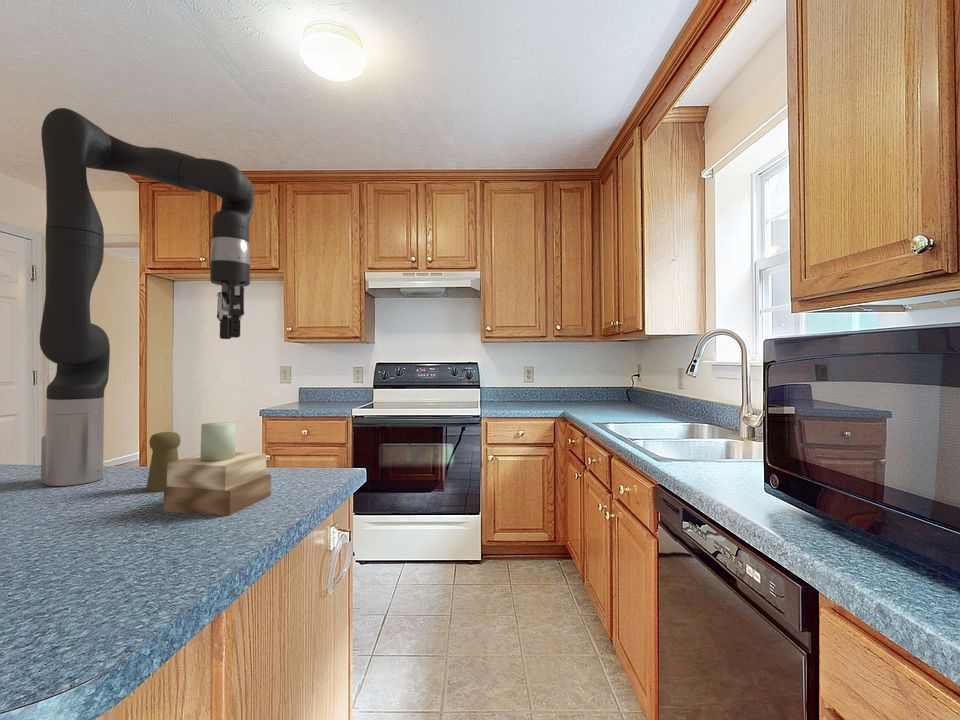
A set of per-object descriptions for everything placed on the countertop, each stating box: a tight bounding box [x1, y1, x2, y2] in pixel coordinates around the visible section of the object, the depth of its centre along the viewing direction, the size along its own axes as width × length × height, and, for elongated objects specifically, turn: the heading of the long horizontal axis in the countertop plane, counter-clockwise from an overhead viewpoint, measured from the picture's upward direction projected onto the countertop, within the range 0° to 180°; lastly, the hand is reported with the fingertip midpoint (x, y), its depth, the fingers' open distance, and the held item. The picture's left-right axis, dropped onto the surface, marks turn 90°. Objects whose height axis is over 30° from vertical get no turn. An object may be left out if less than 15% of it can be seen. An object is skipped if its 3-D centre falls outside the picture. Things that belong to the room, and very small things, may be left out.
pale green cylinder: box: [200, 421, 237, 461], centre depth 86 cm, size 5×5×6 cm
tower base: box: [162, 473, 272, 516], centre depth 86 cm, size 12×12×4 cm
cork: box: [145, 431, 181, 493], centre depth 96 cm, size 6×6×11 cm
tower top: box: [167, 451, 267, 490], centre depth 86 cm, size 11×11×4 cm
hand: (229, 338), depth 103 cm, fingers open, 8 cm apart
